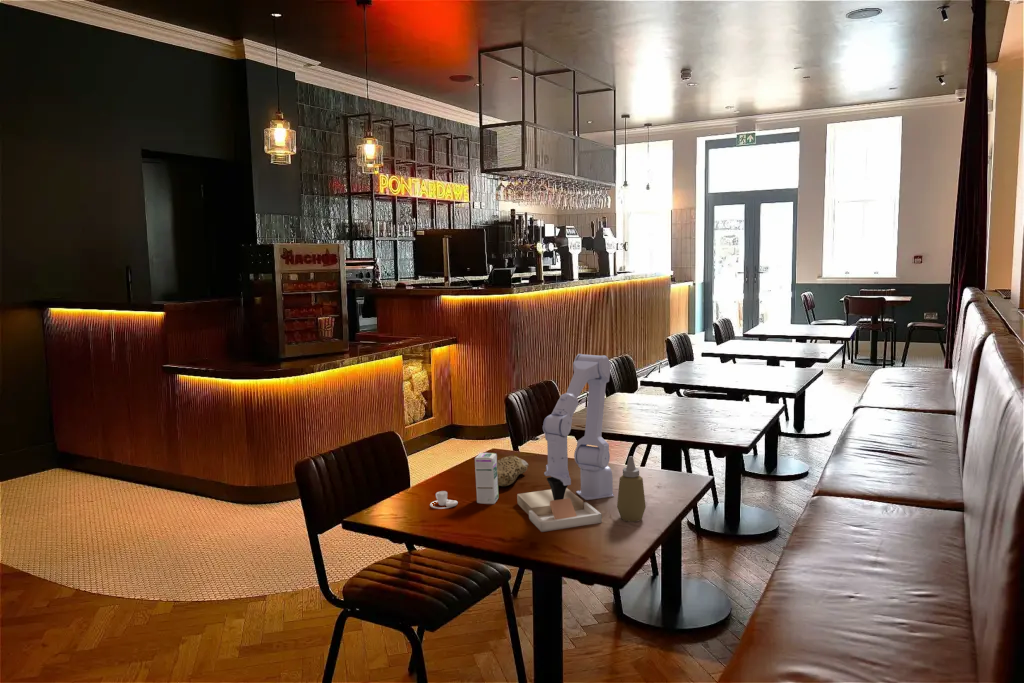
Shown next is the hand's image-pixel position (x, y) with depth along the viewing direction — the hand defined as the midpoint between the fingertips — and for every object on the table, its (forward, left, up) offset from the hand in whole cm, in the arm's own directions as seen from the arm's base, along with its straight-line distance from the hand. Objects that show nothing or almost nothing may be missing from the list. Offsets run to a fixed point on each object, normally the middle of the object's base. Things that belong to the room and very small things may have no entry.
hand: (558, 502), depth 207 cm
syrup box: (+16, -20, -4) cm, 26 cm away
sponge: (+4, -37, -4) cm, 37 cm away
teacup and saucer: (+30, -19, -5) cm, 36 cm away
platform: (0, -7, -4) cm, 8 cm away
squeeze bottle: (-18, +10, -4) cm, 21 cm away
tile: (0, +3, -2) cm, 3 cm away
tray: (0, +5, -4) cm, 6 cm away
